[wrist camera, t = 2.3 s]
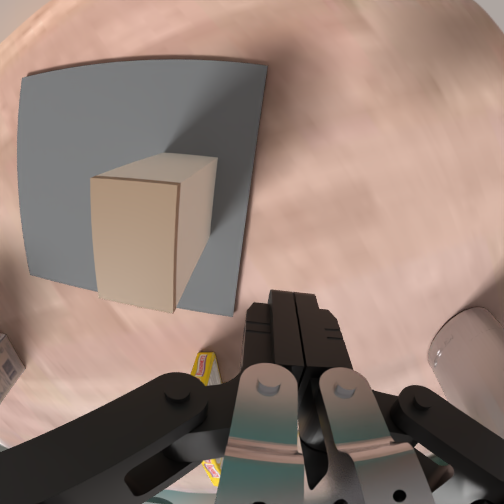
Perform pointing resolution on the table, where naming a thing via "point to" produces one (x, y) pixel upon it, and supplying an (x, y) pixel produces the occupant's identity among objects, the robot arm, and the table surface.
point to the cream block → (151, 227)
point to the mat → (135, 158)
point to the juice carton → (8, 366)
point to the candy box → (209, 375)
